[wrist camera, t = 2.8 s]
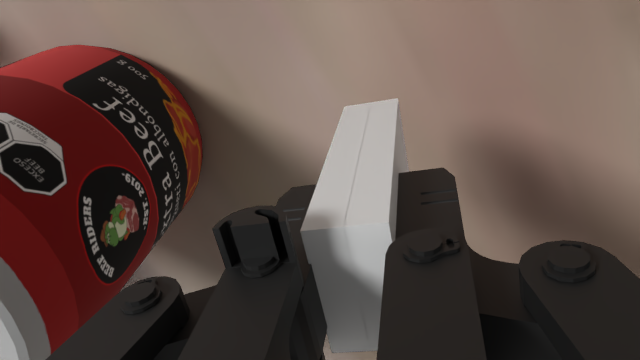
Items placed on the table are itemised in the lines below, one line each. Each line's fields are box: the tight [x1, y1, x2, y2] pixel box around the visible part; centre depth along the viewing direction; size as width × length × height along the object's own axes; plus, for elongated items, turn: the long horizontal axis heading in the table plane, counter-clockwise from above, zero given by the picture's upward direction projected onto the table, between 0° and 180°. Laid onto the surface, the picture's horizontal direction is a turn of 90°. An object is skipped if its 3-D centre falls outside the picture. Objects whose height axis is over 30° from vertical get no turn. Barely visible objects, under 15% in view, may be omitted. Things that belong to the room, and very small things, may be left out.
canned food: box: [0, 45, 202, 360], centre depth 16 cm, size 8×8×11 cm
